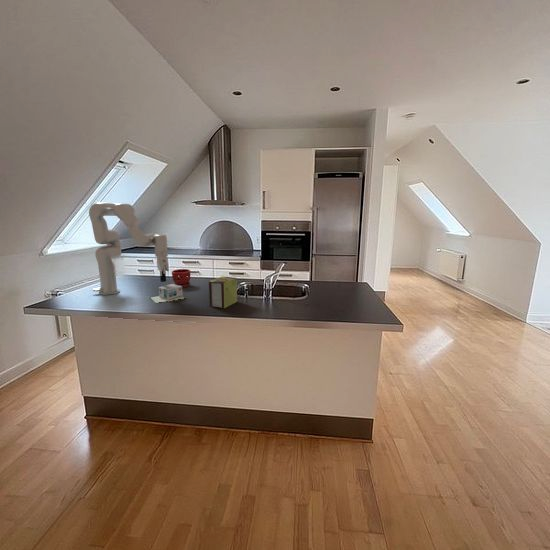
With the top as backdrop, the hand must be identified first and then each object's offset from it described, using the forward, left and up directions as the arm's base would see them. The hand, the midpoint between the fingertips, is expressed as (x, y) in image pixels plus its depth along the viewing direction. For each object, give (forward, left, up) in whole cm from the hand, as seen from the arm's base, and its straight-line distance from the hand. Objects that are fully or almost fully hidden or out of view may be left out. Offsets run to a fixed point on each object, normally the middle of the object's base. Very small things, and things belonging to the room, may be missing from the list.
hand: (163, 281), depth 193 cm
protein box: (+25, -38, -10) cm, 47 cm away
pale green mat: (0, -8, -10) cm, 13 cm away
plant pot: (+18, +19, -10) cm, 28 cm away
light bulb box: (+1, -1, -6) cm, 6 cm away
